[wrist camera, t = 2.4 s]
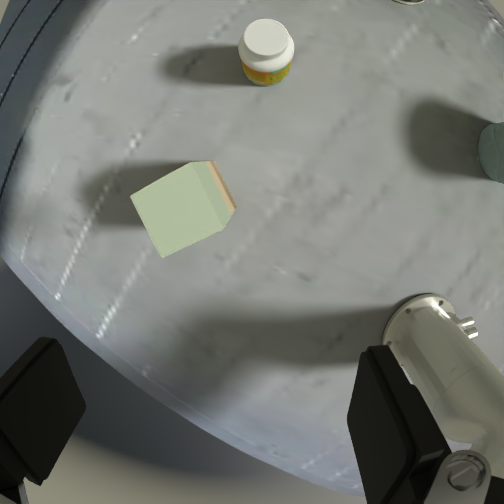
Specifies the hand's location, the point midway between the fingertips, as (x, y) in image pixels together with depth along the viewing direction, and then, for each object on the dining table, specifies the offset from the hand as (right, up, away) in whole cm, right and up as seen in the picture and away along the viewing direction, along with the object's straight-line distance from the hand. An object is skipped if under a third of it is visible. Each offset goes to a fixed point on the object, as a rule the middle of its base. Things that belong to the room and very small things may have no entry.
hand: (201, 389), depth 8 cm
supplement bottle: (+3, +26, +23) cm, 35 cm away
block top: (-5, +9, +22) cm, 24 cm away
